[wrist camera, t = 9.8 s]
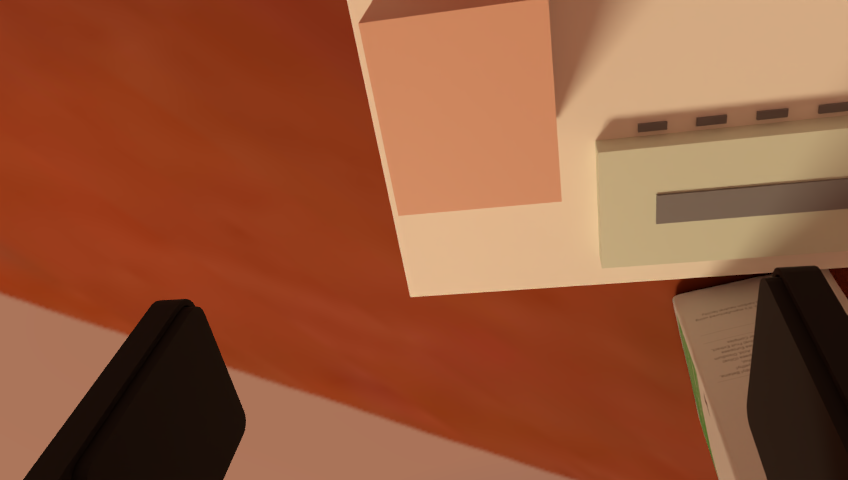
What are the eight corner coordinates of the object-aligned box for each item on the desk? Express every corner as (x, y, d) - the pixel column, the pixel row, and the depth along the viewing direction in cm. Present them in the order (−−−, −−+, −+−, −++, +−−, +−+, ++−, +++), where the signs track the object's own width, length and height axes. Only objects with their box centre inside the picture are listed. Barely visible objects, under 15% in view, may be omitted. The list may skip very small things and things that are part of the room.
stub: (540, -44, 22) (548, -3, 18) (553, 131, 25) (561, 201, 21) (385, -21, 23) (358, 23, 19) (416, 146, 26) (398, 215, 22)
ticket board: (1102, -247, 19) (1167, -250, 17) (962, 241, 28) (996, 275, 26) (331, -114, 23) (315, -104, 21) (413, 280, 32) (407, 313, 30)
